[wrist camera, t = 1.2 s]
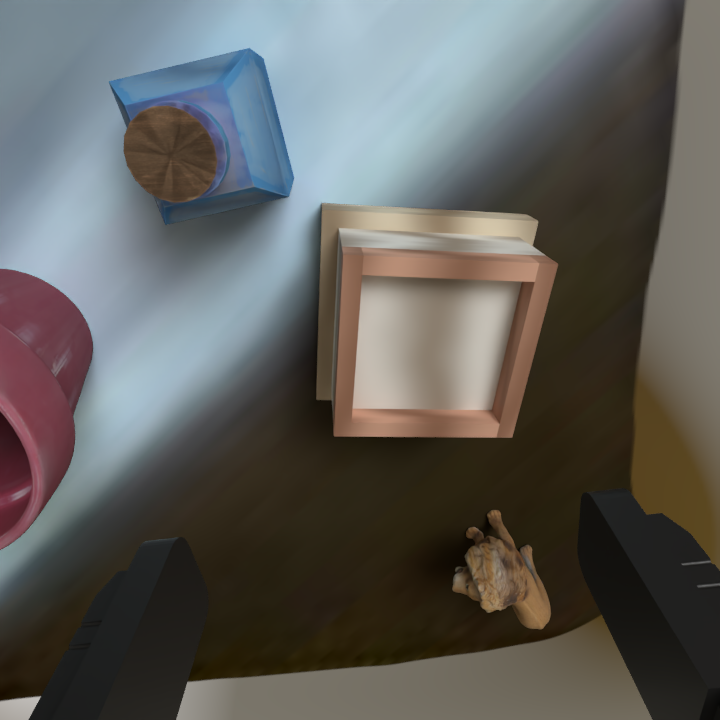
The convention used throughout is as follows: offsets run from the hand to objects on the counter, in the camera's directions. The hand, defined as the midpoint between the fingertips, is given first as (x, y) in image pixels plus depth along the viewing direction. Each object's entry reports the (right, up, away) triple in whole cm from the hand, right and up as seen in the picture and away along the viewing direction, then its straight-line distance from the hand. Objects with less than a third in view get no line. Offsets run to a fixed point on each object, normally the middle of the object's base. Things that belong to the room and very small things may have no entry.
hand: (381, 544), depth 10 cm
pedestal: (+3, +8, +24) cm, 25 cm away
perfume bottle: (-8, +17, +18) cm, 26 cm away
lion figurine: (+12, -13, +36) cm, 40 cm away
